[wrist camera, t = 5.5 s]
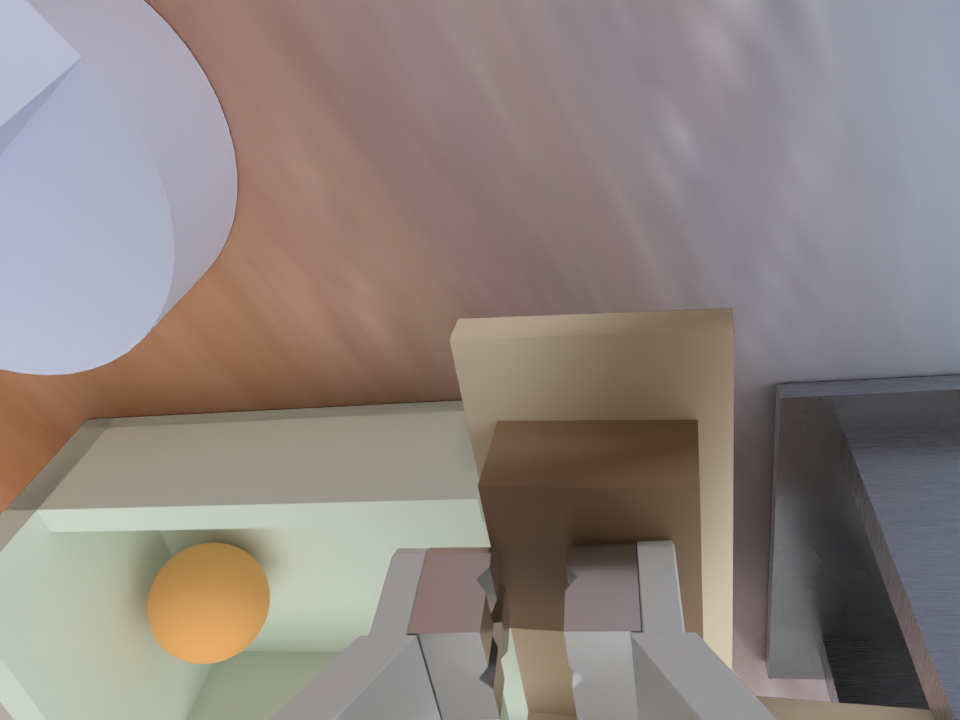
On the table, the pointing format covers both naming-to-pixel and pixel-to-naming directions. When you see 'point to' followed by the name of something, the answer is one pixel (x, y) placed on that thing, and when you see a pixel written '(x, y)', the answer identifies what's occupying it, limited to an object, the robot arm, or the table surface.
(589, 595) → the robot arm
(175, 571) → the ball
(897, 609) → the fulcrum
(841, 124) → the table surface
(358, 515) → the tray
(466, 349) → the lever
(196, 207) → the wedge on round base
